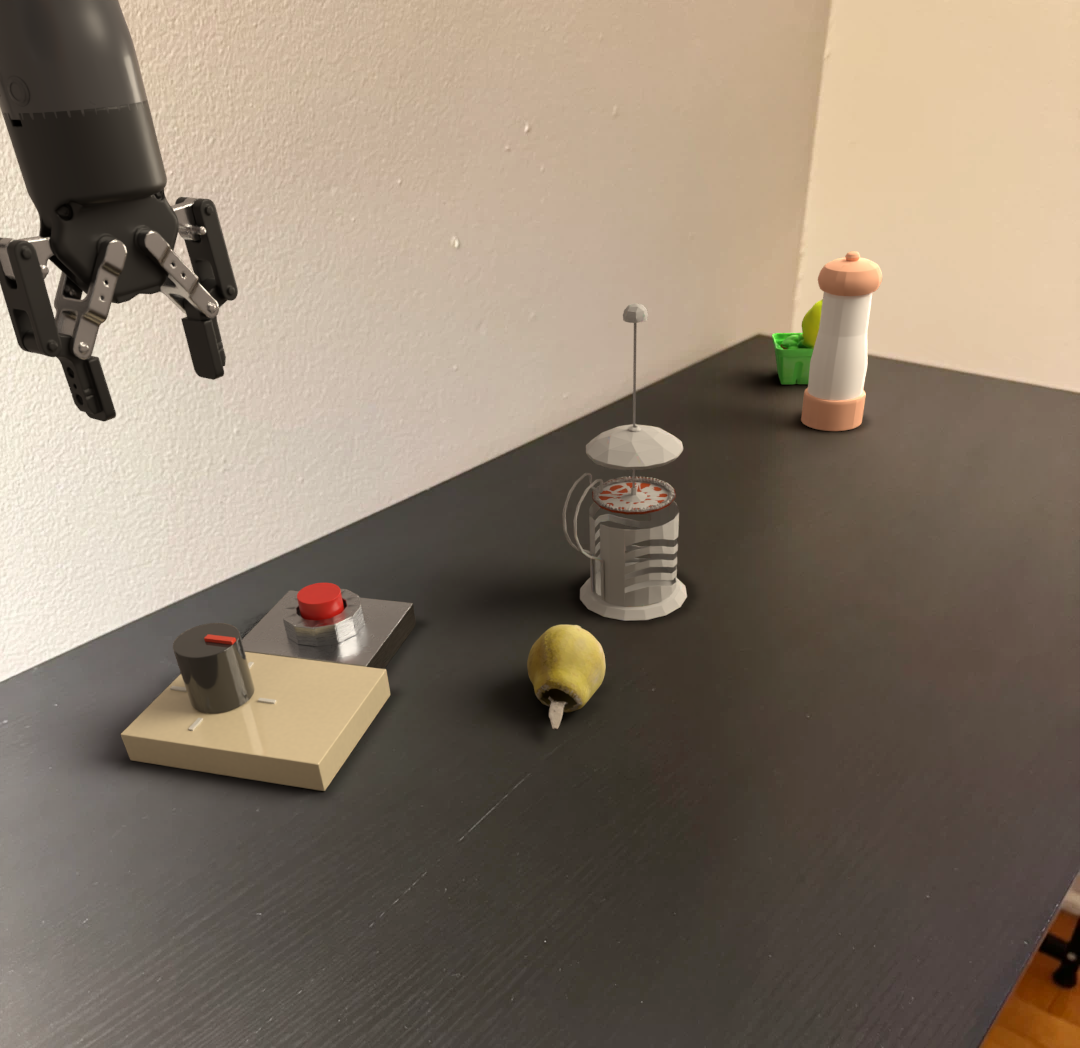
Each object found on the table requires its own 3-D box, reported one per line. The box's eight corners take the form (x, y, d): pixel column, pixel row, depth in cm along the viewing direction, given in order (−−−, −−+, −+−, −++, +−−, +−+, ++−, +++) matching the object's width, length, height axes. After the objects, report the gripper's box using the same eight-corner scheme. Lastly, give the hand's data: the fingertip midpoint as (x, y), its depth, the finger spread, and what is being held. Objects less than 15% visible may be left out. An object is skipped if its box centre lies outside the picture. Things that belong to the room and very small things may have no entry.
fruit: (514, 739, 73) (524, 650, 80) (592, 756, 74) (595, 666, 80) (532, 685, 69) (541, 596, 76) (614, 703, 69) (616, 614, 76)
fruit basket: (851, 369, 136) (863, 282, 129) (861, 390, 129) (875, 299, 122) (767, 370, 137) (775, 284, 130) (773, 391, 130) (782, 302, 123)
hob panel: (130, 760, 73) (119, 732, 71) (214, 671, 82) (206, 645, 80) (324, 791, 69) (317, 762, 67) (391, 694, 78) (386, 667, 76)
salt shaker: (872, 427, 118) (899, 255, 107) (816, 434, 117) (837, 262, 106) (845, 407, 124) (868, 242, 113) (791, 414, 123) (808, 248, 112)
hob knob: (177, 709, 73) (158, 649, 70) (211, 674, 77) (194, 616, 74) (234, 717, 72) (216, 657, 69) (266, 681, 76) (250, 622, 73)
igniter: (238, 671, 82) (227, 630, 80) (294, 611, 90) (285, 572, 87) (370, 688, 79) (362, 646, 77) (416, 624, 87) (410, 584, 84)
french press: (709, 598, 88) (728, 304, 73) (602, 639, 83) (598, 334, 68) (644, 557, 95) (649, 280, 80) (542, 592, 90) (526, 307, 75)
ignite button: (293, 620, 81) (289, 601, 80) (312, 598, 84) (308, 580, 83) (332, 624, 80) (328, 606, 79) (351, 602, 83) (347, 584, 82)
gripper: (139, 85, 59) (206, 358, 69) (-91, 113, 50) (24, 423, 60) (222, 85, 56) (281, 372, 66) (-10, 115, 47) (99, 444, 56)
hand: (158, 396), depth 63 cm, fingers open, 8 cm apart
